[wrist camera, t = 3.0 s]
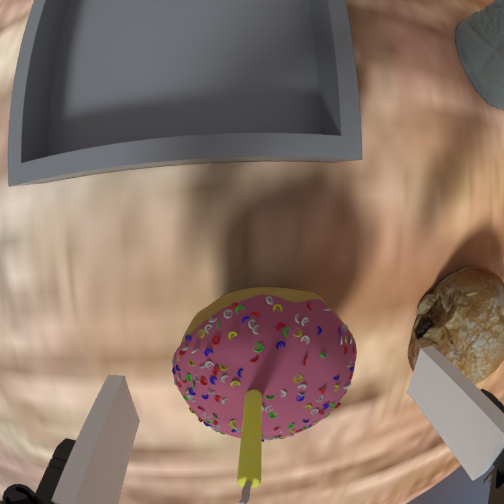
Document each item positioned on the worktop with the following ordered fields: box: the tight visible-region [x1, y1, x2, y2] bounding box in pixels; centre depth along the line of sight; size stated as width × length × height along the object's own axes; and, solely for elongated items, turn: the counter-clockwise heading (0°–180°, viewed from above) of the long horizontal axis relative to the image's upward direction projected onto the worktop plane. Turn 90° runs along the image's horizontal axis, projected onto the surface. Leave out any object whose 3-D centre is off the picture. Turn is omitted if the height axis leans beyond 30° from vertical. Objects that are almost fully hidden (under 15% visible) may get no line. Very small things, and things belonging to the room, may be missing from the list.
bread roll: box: [408, 265, 504, 384], centre depth 17 cm, size 10×10×8 cm
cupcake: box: [172, 287, 357, 504], centre depth 12 cm, size 9×8×12 cm
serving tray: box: [8, 0, 362, 187], centre depth 11 cm, size 17×17×4 cm
